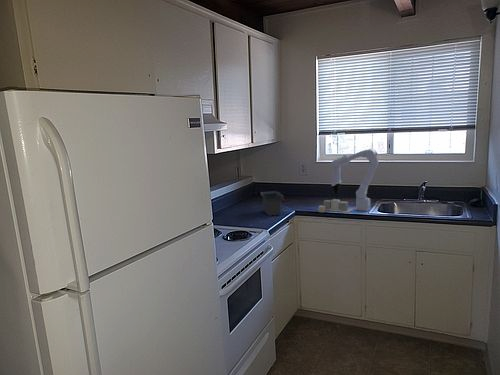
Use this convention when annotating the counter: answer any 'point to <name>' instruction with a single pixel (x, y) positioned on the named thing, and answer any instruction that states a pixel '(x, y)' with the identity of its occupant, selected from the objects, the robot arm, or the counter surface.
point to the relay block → (321, 208)
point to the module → (335, 204)
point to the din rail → (342, 206)
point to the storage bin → (272, 202)
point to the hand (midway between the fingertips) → (336, 194)
